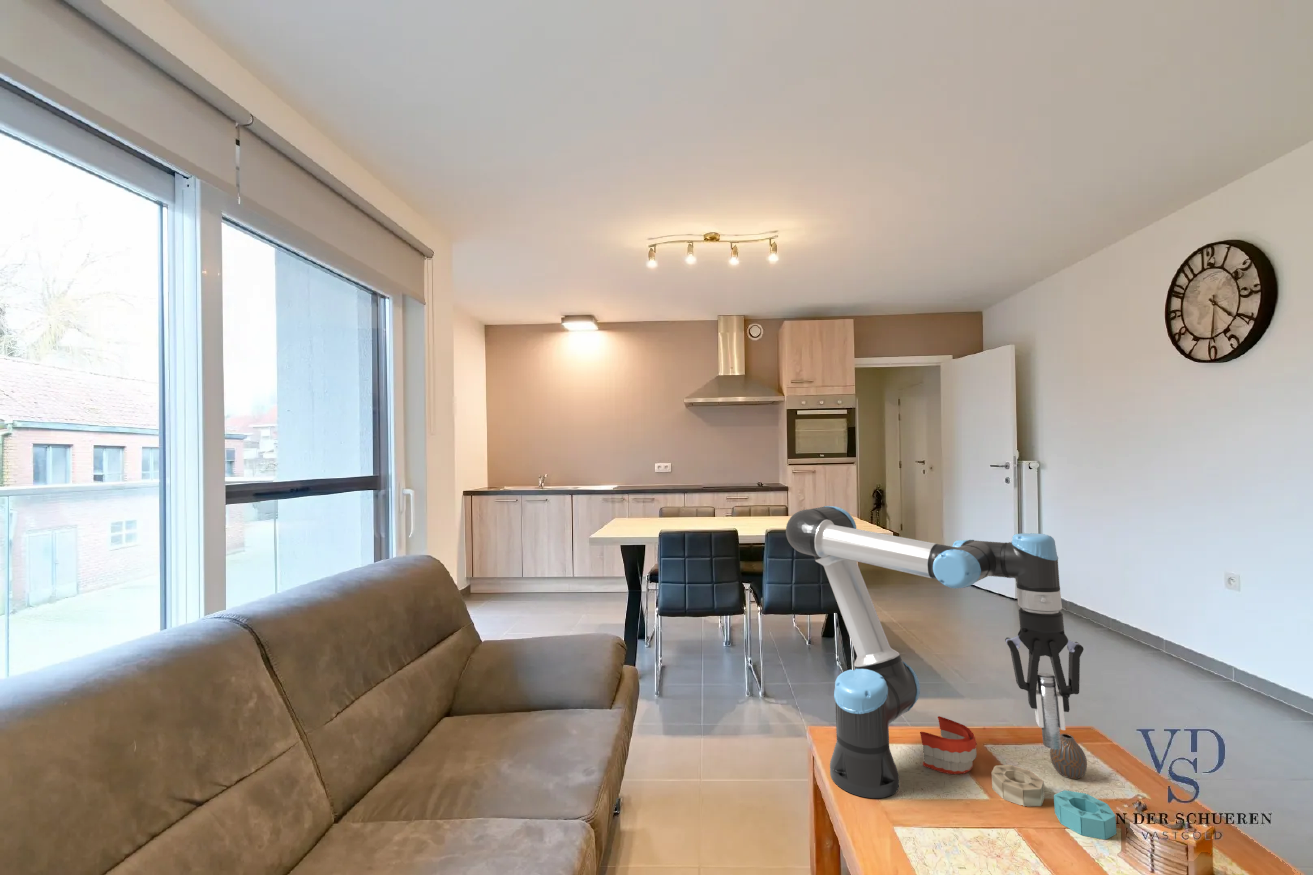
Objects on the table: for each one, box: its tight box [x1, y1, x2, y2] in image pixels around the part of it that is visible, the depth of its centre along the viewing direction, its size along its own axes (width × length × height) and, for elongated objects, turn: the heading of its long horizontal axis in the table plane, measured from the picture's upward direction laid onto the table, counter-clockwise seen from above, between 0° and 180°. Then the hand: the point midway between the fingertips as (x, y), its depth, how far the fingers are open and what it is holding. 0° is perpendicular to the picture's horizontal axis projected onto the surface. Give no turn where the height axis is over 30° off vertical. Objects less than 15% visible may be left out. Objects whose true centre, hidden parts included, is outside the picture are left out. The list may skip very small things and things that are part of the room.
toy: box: [919, 716, 978, 775], centre depth 132 cm, size 12×10×8 cm
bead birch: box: [991, 764, 1045, 807], centre depth 120 cm, size 9×9×4 cm
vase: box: [1049, 733, 1088, 780], centre depth 127 cm, size 7×7×9 cm
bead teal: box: [1053, 789, 1117, 841], centre depth 110 cm, size 9×9×4 cm
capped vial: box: [1037, 672, 1061, 749], centre depth 111 cm, size 3×3×14 cm
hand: (1050, 725), depth 111 cm, fingers closed on capped vial, 3 cm apart
